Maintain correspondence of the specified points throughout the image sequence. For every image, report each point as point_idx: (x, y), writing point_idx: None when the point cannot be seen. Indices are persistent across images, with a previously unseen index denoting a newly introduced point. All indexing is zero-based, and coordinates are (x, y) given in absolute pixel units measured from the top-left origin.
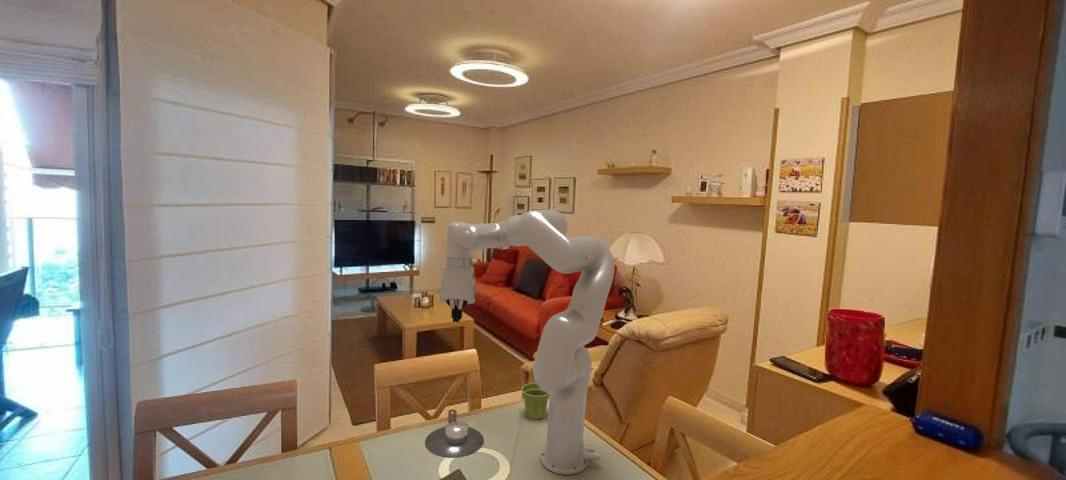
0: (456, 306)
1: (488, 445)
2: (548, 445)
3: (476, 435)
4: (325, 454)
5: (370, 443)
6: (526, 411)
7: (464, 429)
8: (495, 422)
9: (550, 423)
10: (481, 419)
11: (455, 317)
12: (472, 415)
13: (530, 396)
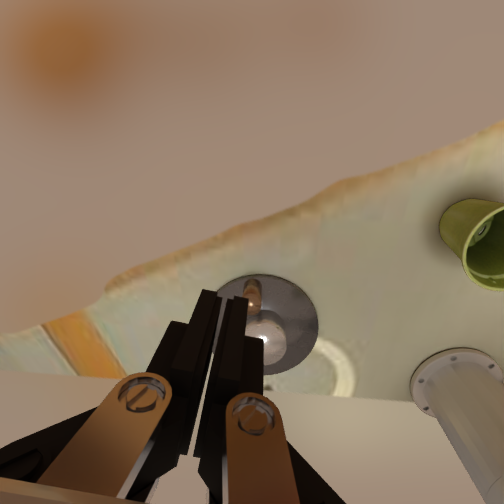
0: (180, 428)
1: (325, 332)
2: (436, 415)
3: (304, 315)
4: (41, 336)
5: (103, 311)
6: (444, 238)
7: (278, 357)
8: (354, 251)
9: (463, 461)
10: (322, 236)
11: (203, 387)
12: (301, 216)
13: (476, 279)
